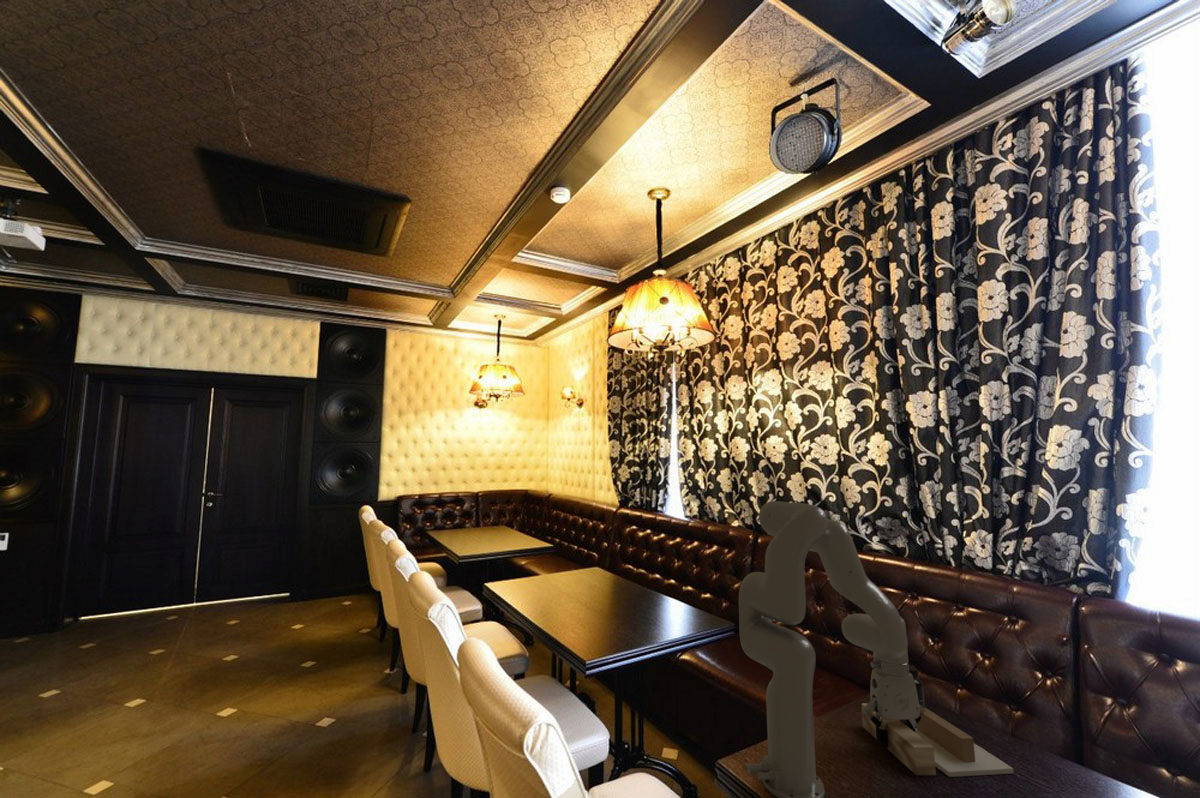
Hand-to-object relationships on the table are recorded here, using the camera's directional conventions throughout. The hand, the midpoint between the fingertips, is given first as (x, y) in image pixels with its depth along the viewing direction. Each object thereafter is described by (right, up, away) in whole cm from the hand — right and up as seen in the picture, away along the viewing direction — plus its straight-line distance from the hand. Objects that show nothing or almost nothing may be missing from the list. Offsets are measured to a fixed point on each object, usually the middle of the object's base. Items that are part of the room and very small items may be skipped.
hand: (896, 743), depth 115 cm
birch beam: (0, -1, 0) cm, 1 cm away
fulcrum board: (+12, -1, 0) cm, 12 cm away
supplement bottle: (+15, -4, +17) cm, 23 cm away
